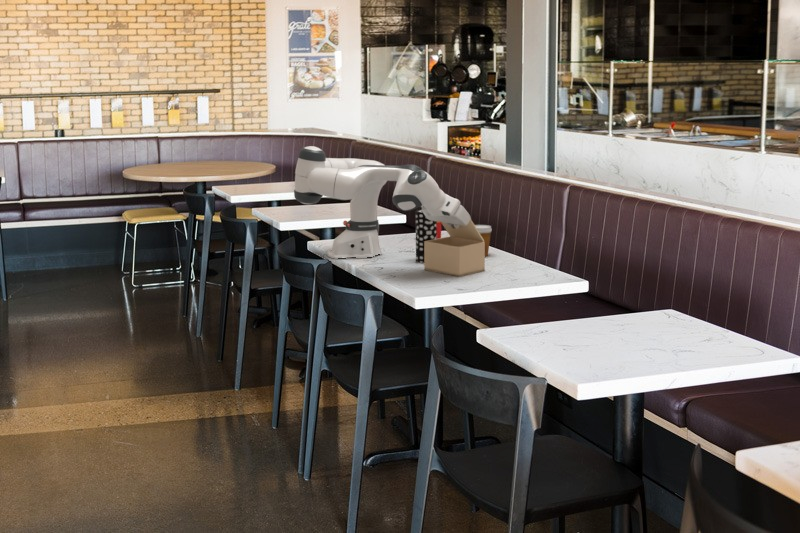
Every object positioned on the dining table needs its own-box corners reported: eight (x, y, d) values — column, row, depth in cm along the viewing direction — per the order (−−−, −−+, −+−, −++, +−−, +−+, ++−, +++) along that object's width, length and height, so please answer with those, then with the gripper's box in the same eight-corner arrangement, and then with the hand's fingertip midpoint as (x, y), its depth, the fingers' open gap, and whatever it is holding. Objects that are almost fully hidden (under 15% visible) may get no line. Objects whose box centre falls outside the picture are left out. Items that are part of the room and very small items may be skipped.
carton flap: (469, 218, 356) (469, 217, 357) (435, 213, 368) (436, 212, 369) (483, 241, 364) (484, 240, 364) (450, 236, 376) (451, 235, 376)
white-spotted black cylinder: (422, 258, 391) (422, 209, 387) (440, 260, 387) (440, 210, 383) (412, 262, 384) (411, 211, 380) (430, 264, 380) (430, 213, 376)
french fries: (425, 241, 427) (425, 212, 424) (433, 240, 429) (433, 211, 426) (435, 245, 419) (435, 215, 416) (444, 244, 421) (444, 214, 418)
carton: (459, 276, 357) (459, 247, 354) (424, 269, 369) (424, 241, 367) (484, 270, 366) (484, 242, 364) (449, 264, 379) (449, 236, 376)
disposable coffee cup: (493, 253, 398) (493, 225, 396) (489, 258, 389) (489, 228, 387) (470, 252, 401) (471, 224, 398) (466, 257, 392) (466, 228, 390)
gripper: (413, 208, 362) (431, 230, 371) (453, 213, 348) (472, 237, 357) (421, 195, 364) (439, 217, 373) (462, 200, 350) (480, 223, 359)
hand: (455, 227), depth 365 cm, fingers closed
